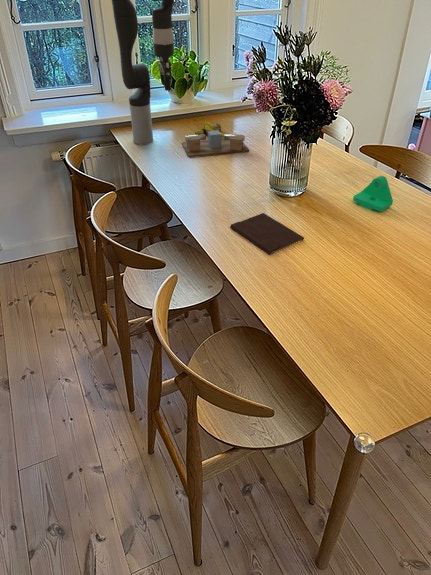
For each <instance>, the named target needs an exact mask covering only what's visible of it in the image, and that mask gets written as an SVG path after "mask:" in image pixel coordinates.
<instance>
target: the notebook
mask: <svg viewBox="0 0 431 575" xmlns="http://www.w3.org/2000/svg"><path fill="white" fill-rule="evenodd" d="M230 229H231V230H232V231H234V232H235V233H237V234H238V235H240V236H241V237H243V239H246V240H247V241H249V242H250V243H251V244H253V245H254V246H255V247H257V248H259V249H260V250H261V251H263V252H264V253H266V254H267V255H268V256H271V255H273V254H276V253H277V252H279V251H281V249H282V250H284V249H286V248H288V247H290V245H291V246H292V244H293V245H294V243H295V244H297V243H299V242H298V241H300V242H302V241H304V240H305V237H304V236H302V235H301V234H299V233H297V232H296V231H295V230H292V229H291V228H289V227H287V226H286V225H284V224H283V223H281V222H280V221H277V220H276V219H274V218H273V217H271V216H270V215H268V214H266V213H265V212H262V213H259V214H256V215H255V216H252V217H249V218H246V219H244V220H240V221H237V222H234V223H232V224H230ZM303 239H304V240H303ZM301 240H302V241H301ZM296 242H297V243H296Z"/></svg>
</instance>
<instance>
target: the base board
mask: <svg viewBox="0 0 431 575" xmlns="http://www.w3.org/2000/svg"><path fill="white" fill-rule="evenodd" d="M191 135H192V134H187V135H186V136H191ZM193 135H198V134H195V133H194V134H193ZM231 135H240V134H237V133H232V134H231ZM181 145H182V147H183V150H184V152H185V154H186V156H187V158H188V157H190V158H197V157H196V156H200V157H210V156H209V155H211V156H220V155H230V154H240V153H249V152H250V149H249V147H248V146H247V145H246V144H245V143H244V141H242V138H235V137H231V138H230V140H224V139H221V147H219V148H210V146H209V145H208V139H206V140H200V138H199V137H198V138H188V141H187V142H186V141H181Z"/></svg>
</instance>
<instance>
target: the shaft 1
mask: <svg viewBox="0 0 431 575" xmlns="http://www.w3.org/2000/svg"><path fill="white" fill-rule="evenodd" d="M190 135H191V136H187V135H185V136H184V138H185V142H187V141H188V138H198V137H199V138H200V141H202V140H207V134H206V135H205V134H202V135H194V134H190Z"/></svg>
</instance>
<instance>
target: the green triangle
mask: <svg viewBox="0 0 431 575" xmlns="http://www.w3.org/2000/svg"><path fill="white" fill-rule="evenodd" d="M389 185H390V184H389V182H388V179H387V177H386V176H384V175H378V176H376V177H375V178H373V179H372V180H371V182H370V183H369V184H368V185H367V186H365V188H364V189H362V190H361V191H360V192H358V193H356V194H355V195H353V198H352V201H353V202H355V203H358V204H359V207H361V206H362V208H364V209H365V210H369V211H372V210H375V211H377V212H383V211H385V210H386V209H388V208H389V207H391V206H392V205H393V203H394V198H393V196H392V193H391V189H390V186H389Z"/></svg>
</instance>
